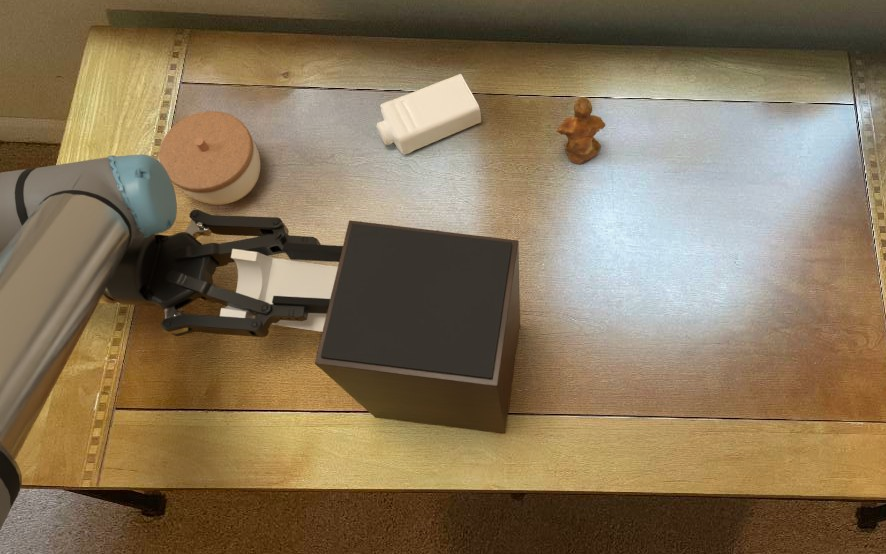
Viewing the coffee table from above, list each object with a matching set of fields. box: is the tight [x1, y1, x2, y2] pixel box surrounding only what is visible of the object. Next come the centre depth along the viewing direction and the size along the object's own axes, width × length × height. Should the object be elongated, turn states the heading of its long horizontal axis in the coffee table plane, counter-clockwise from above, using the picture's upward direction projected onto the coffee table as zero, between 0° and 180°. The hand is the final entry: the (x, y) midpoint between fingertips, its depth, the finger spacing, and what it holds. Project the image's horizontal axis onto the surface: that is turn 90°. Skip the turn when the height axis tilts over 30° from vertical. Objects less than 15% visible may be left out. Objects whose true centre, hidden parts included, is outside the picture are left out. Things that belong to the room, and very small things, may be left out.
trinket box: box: [158, 110, 262, 206], centre depth 87 cm, size 11×11×9 cm
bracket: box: [219, 249, 338, 333], centre depth 76 cm, size 13×7×8 cm, turn 82°
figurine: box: [556, 96, 606, 165], centre depth 89 cm, size 5×6×12 cm
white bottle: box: [376, 73, 482, 155], centre depth 93 cm, size 6×13×4 cm, turn 117°
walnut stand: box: [314, 219, 521, 435], centre depth 72 cm, size 13×15×25 cm
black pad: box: [321, 224, 512, 379], centre depth 60 cm, size 12×14×1 cm
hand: (344, 280), depth 74 cm, fingers open, 5 cm apart
